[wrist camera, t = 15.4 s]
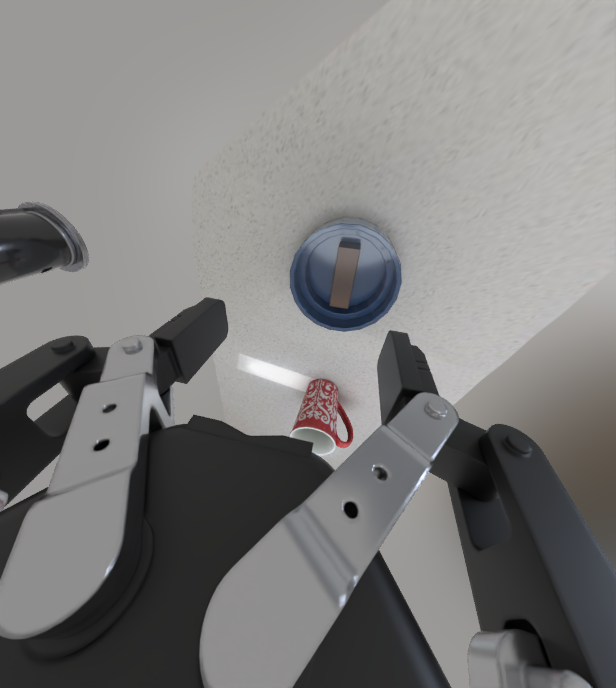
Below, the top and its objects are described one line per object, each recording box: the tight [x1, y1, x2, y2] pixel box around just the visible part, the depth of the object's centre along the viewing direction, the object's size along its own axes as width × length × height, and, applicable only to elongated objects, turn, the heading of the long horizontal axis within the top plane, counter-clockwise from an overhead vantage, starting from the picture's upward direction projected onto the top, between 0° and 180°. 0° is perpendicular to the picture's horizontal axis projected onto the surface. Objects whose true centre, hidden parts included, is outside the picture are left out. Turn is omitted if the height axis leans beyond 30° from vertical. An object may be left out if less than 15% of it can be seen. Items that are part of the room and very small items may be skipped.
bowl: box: [290, 218, 402, 331], centre depth 34 cm, size 15×15×6 cm
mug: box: [290, 379, 353, 455], centre depth 48 cm, size 13×9×14 cm
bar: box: [329, 241, 361, 309], centre depth 34 cm, size 9×3×3 cm, turn 175°
